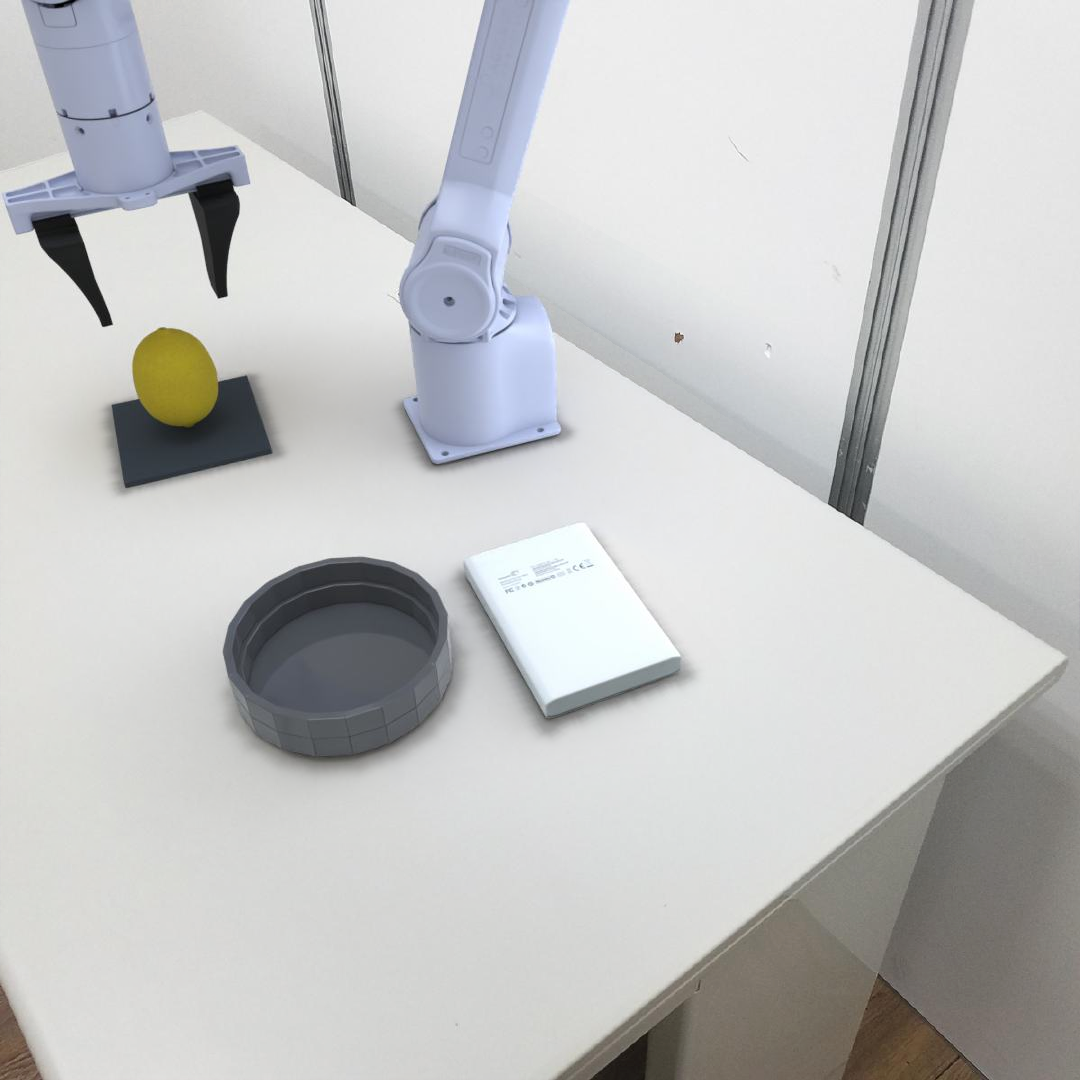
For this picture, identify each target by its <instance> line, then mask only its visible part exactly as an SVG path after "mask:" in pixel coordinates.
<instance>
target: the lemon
mask: <svg viewBox="0 0 1080 1080" xmlns="http://www.w3.org/2000/svg"><path fill="white" fill-rule="evenodd" d="M131 369H132V370H131V371H132V379H133V385H134V389H135V392H136V395H137V397H138V399H140V401H141V403H142V404H143V406H144V407H145V409H146V410H147V411H148V412H149V413H150V414H151V415H152V416H153V417H154V418H156V419H157V420H159V421H161V422H163V423H165V424H168V425H172V426H184V427H187V428H188V427H192V426H193V425H194V424H195V423H197V422H199V421H201V420H202V419H203V418H205V417H206V416H207V415H208V414H209V413H210V411H211V410H212V409H213V407H214V405H215V402H216V400H217V396H218V381H219V378H218V377H219V376H218V371H217V369H216V365H215V363H214V361H213V358H212V356H211V355H210V353H209V351H208V350H207V348H206V347H205V345H204V344H203V342H201V341H200V340H199V339H198V338H197V337H196V336H194V335H193V334H191V333H190V332H188V331H186V330H182V329H179V328H175V327H165V326H162V327H158V328H157V329H156V330H154V331H151V332H150V333H149V334H147V335H146V336H144V337H143V338H142V339H141V340H140V342H139V344H137V346H136V348H135V351H134V353H133V357H132V365H131Z"/></svg>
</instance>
